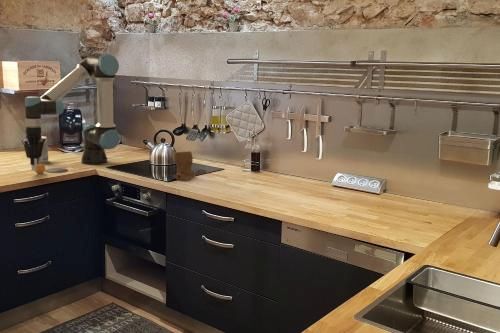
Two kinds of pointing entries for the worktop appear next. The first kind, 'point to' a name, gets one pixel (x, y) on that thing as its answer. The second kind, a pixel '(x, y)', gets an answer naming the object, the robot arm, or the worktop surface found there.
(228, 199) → the worktop surface
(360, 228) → the worktop surface
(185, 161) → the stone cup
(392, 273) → the worktop surface
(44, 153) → the supplement tub
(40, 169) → the ball
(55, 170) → the disc
